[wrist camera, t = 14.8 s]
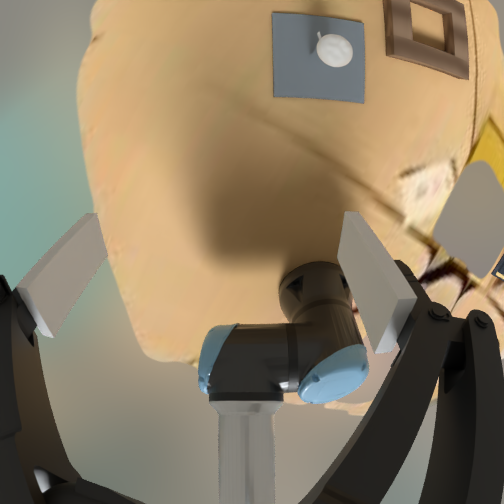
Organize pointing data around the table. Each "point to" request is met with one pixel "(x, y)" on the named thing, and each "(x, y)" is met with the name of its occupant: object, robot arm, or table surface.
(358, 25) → the mat
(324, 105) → the table surface
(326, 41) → the milkshake
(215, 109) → the table surface
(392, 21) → the pocket block
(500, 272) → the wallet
